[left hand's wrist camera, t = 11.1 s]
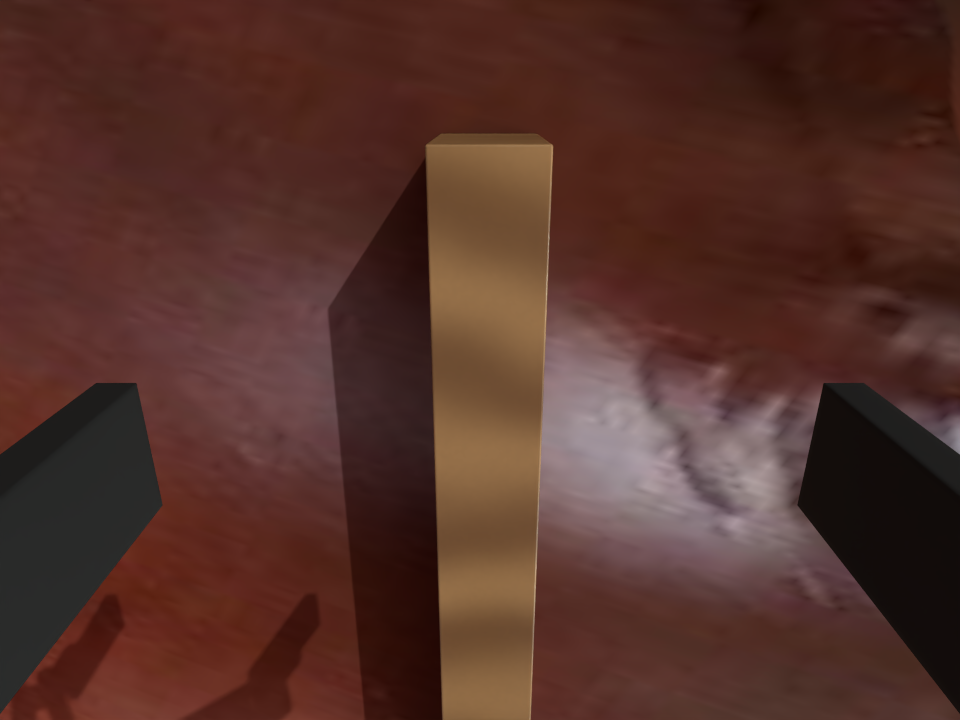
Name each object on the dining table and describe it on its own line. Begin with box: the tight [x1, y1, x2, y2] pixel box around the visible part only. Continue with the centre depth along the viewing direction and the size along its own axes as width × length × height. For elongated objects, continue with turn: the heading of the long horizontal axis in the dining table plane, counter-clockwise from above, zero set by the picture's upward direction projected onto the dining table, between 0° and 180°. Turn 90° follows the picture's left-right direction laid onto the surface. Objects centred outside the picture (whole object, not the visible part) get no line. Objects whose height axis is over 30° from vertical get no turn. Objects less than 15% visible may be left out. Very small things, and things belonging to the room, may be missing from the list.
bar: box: [425, 134, 553, 720], centre depth 42 cm, size 66×5×8 cm, turn 0°
